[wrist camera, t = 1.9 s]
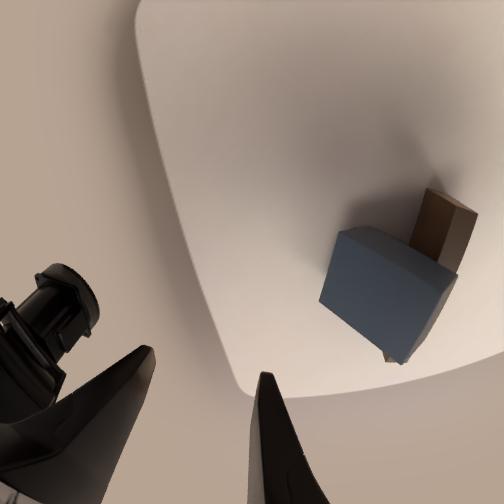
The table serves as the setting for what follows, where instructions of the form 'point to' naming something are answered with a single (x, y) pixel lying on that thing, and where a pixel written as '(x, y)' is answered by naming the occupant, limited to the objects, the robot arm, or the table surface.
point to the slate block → (385, 290)
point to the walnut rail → (442, 232)
